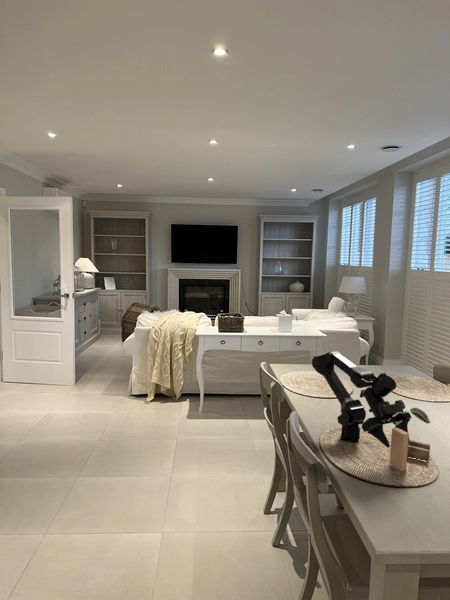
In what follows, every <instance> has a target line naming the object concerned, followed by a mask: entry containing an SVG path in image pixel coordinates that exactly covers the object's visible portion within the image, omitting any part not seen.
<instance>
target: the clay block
mask: <svg viewBox="0 0 450 600" xmlns="http://www.w3.org/2000/svg"><path fill="white" fill-rule="evenodd" d="M409 439H410V433H409V432H408V433H407V432H405V431H403V430H401V429H399V428H395V427H394V428H392V429H391V440H390V453H389V454H390V455H389V465H390V464H391V465H392V466H391V465H390V466H391V467H393V466H394V467H396V468H397V469H396V468H395V469H396V470H398V469H399V470H400V471H399V470H398V471H399V472H404V471H403V470H405V471H407V465H408V464H407V463H408V458H407V453H408V440H409ZM394 467H393V468H394Z"/></svg>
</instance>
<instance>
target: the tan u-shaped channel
mask: <svg viewBox="0 0 450 600" xmlns="http://www.w3.org/2000/svg"><path fill="white" fill-rule="evenodd" d="M430 450H431V444H430V443H425V442H422V441H417V440H412V439H410V442H409V443H408V453H407V457H411V458H416V459H420V460H425V461H428V462H429V458H428V457H430V454H431V452H430Z"/></svg>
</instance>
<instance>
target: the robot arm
mask: <svg viewBox="0 0 450 600" xmlns="http://www.w3.org/2000/svg"><path fill="white" fill-rule="evenodd" d="M311 365H312V367H313V369H314V370H315V372H317V373H318V374H320V375H321V376H322V377H324V379H325V381H326V382H327V384H328V385H329V388H330V389H331V391H332V392H333V394H334V396H335V397H336V399H337V400H338V403H339V404H340V413H341V414H339V415H338V416H337V424H339V425H341V433H340V440H341V441H342V440H344V442H349V441H351V442H352V443H356V442H358V443H359V440H360V435H361V429H362V431H363V432H364V433H367V434H368V435H371V436H373V437H374V438H375V439H376V440H378V441H379V442H380V443H382V444H383V445H384V446H385V447H387V448H391V443H390V442H389V440H388V438H387V435H386V434H385V432H384V425H387V424H393V425H394V428H399V429H401V430H403V431H405V432H407V433H409V430H408V429H409V428H408V425H409V422H411V419H412V415H411V414H410V413H411V412H410V411H409V412H408V411H407V410H405V411H404V409H406V405H405V403H404V401H403V400H402V399H399V400H397V399H396V400H395V401H394V403H390V402H389V401H388V400H387V401H386V400H385V398H386V397H387V396H388V395H390V394H391V393H392V392H393V391H395V389H396V388H397V382H396V380H395V379H394V378H392V376H389V375H387V373H386V372H381V373H380V374H378V376H376V375H375V374H374V373H373V372H372V371H370V370H369V369H366V368H363V367H359V366H357V365H356V364H355V363H353V362H352V361H351V360H349V359H347V357H345V356H344V355H342V354H341V353H340V351H337V350H335V351H328V352H326V353H324V354H322V355H315V356H313V358H312V360H311ZM335 367H336V368H338V369H340V370H341V371H342V372H343V373H345V374H346V375H347V376H348V377H349V379H350V382H351V383H352V384H353V385H354V386H355V388H357V389H360V393H359V398H361V399H362V398H365V400H366V402H367V404H368V406H369V409H368V412H369V413H372V415H373V416H374V417H368V418H367V419H366V417H367V412H366V409H365V406H364V405H363V404H362V402H361V401H360V399H354V398H352V396H351V395H350V393H349V392H348V390H347V388H346V387H345V386H344V384H343V382H342V381H341V379H340V377H339V376H338V374H337V373H336V371H335ZM363 388H365V389H363ZM360 425H361V428H360ZM410 440H411V439H410V438H409V440H408V443H409V442H410Z"/></svg>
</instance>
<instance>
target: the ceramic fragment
mask: <svg viewBox="0 0 450 600" xmlns="http://www.w3.org/2000/svg"><path fill="white" fill-rule="evenodd" d="M409 413H413V414H418V415H419V416H421V417H422V418H423V419H424V420H425V421H426V422H427V423H429V424H430V423H432V421H431V420H430V419H429V416H428V414H426V412H425V411H424V410H422V409H420V408H418V407H411V408H410V409H409Z"/></svg>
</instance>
